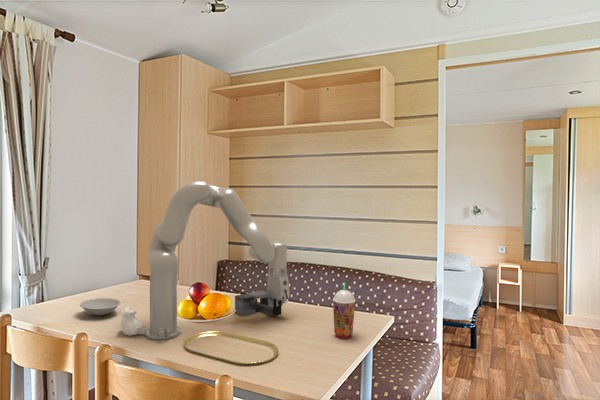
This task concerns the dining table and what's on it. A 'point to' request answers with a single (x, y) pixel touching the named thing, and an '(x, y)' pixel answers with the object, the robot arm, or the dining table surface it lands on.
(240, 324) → the dining table surface
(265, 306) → the plug
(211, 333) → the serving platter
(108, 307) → the dish
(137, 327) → the duck figurine
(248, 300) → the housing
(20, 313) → the dining table surface
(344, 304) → the smoothie
